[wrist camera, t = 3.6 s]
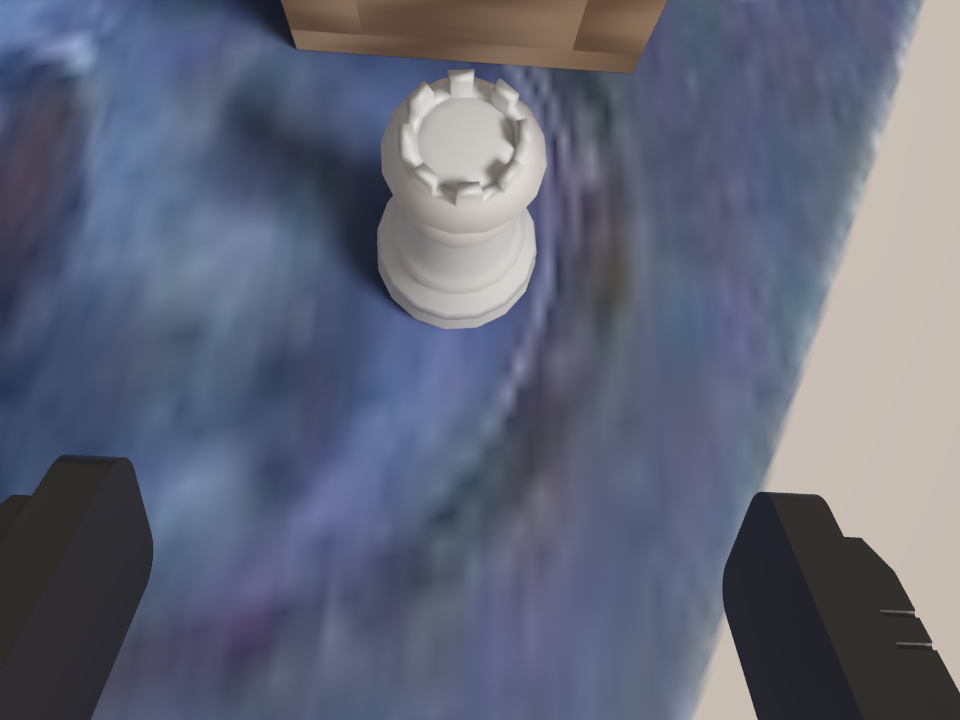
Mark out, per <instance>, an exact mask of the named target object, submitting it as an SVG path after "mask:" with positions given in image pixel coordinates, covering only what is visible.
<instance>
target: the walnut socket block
mask: <svg viewBox="0 0 960 720" xmlns="http://www.w3.org/2000/svg"><path fill="white" fill-rule="evenodd" d="M281 2H282V5H283V8H284V11H285V14H286V17H287V20H288V24H289V27H290V30H291V33H292V36H293V39H294V42H295V45H296V48H297V49H299V50H313V51H327V52H341V53H355V54H369V55H383V56H396V57H410V58H424V59H438V60H452V61H466V62H480V63H494V64H508V65H521V66H535V67H549V68H563V69H577V70H591V71H605V72H619V73H633V71H634V69H635V67H636V65H637V63H638V61H639V58H640V56H641V54H642V52H643V50H644V48H645V46H646V44H647V42H648V40H649V37H650V35H651V33H652V31H653V29H654V27H655V25H656V23H657V21H658V19H659V17H660V14H661V12H662V10H663V8H664V6H665V4H666V2H667V0H281Z"/></svg>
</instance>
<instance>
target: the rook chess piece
mask: <svg viewBox="0 0 960 720" xmlns="http://www.w3.org/2000/svg"><path fill="white" fill-rule="evenodd" d="M381 160H382V174H383V176H384V178H385V180H386V182H387V184H388V186H389V188H390V190H391V192H392V194H393V197H392V198H391V199H390V200H389V201H388V203H387V205H386V208H385V210H384V213H383V216H382V218H381V221H380V224H379V226H378V229H377V253H378V271H379V273H380V275H381V277H382V279H383V281H384V283H385V285H386V287H387V289H388V291H389V293H390V295H391V298H392V299H393V300H394V301H396V302H397V303H398V304H399V305H400V306H401V307H402V308H404V309H405V310H406V311H407V312H408V313H409V314H410V315H412V316H413V317H414V318H415V319H417V320H420V321H423V322H426V323H429V324H432V325H435V326H438V327H441V328H443V329H458V328H476V327H479V326H481V325H483V324H485V323H487V322H489V321H492V320H494V319H496V318H498V317H500V316H502V315H504V314H506V313H507V311H508V310H509V309H510V308H511V307H512V306H513V305H514V304H515V302H516V301H517V300H518V299H519V298H520V297H521V296H522V295H523V293H524V292H525V291H526V288H527V285H528V282H529V279H530V276H531V273H532V270H533V268H534V265H535V256H536V254H537V252H536V240H535V228H534V222H533V220H532V218H531V216H530V214H529V212H528V210H527V208H526V207H527V206H528V204H529V203H530V202H531V201H532V200H533V199H534V198H535V197H536V196H537V193H538V190H539V187H540V184H541V181H542V178H543V175H544V172H545V170H546V167H547V165H546V153H545V141H544V135H543V133H542V131H541V129H540V127H539V125H538V123H537V121H536V119H535V118H534V116H533V114H532V112H531V110H530V108H529V107H528V106H526V105H525V104H524V103H523V102H522V101H521V100H519V94H518V93H517V92H516V91H515V90H514V89H512V88H511V87H510V86H509V85H508V84H506V83H505V82H504V81H503V80H502V79H500V78H499V79H498V81H497V83H496V84H493V83H490V82H487V81H484V80H482V79H479V78H476V77H474V69H465V70H448V78H442V79H440V80H438V81H435V82H433V83H431V84H428V85H427V83H426V82H425V81H423V82H422V83H421V84H420V85H419V86H418V87H417V88H416V89H415V90H414V91H413V92H412V93H411V94H410V95H409V96H408V97H407V98H406V99H405V100H404V101H403V102H402V103H401V104H400V105H399V106H398V107H397V108H396V109H395V110H394V111H393V112H392V114H391V116H390V119H389V121H388V124H387V127H386V129H385V132H384V135H383V137H382V140H381Z"/></svg>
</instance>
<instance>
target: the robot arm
mask: <svg viewBox="0 0 960 720" xmlns="http://www.w3.org/2000/svg"><path fill="white" fill-rule="evenodd" d="M152 560H153V539H152V534H151V530H150V527H149V523H148V519H147V515H146V512H145V508H144V504H143V500H142V497H141V493H140V489H139V485H138V482H137V478H136V474H135V470H134V467H133V465H132V463H131V461H130V460H129V459H127V458H123V457H103V456H83V455H62V456H60V457H59V458H57V459H56V460H55V461H54V463H53V464H52V465H51V467H50V468H49V470H48V471H47V473H46V475H45V476H44V478H43V479H42V481H41V482H40V484H39V486H38V487H37V489H36V490H35V492H34V493H33V495H32V496H27V495H11V496H10V497H9V498H8V499H6V500H5V501H4V502H2V503H1V504H0V720H90V719H91V717H92V715H93V712H94V710H95V707H96V705H97V703H98V700H99V698H100V696H101V693H102V691H103V688H104V686H105V684H106V681H107V679H108V677H109V674H110V672H111V669H112V667H113V665H114V662H115V660H116V657H117V655H118V653H119V650H120V648H121V646H122V643H123V641H124V638H125V636H126V634H127V631H128V629H129V627H130V624H131V622H132V619H133V617H134V615H135V612H136V610H137V607H138V605H139V603H140V600H141V598H142V596H143V593H144V591H145V588H146V586H147V583H148V580H149V576H150V572H151V567H152ZM723 602H724V608H725V613H726V616H727V620H728V623H729V626H730V629H731V633H732V636H733V639H734V643H735V646H736V649H737V653H738V656H739V659H740V663H741V666H742V669H743V672H744V676H745V679H746V682H747V686H748V689H749V692H750V696H751V699H752V702H753V706H754V709H755V712H756V715H757V718H758V720H960V693H959V691H958V689H957V687H956V685H955V683H954V681H953V680H952V678H951V676H950V674H949V672H948V670H947V668H946V666H945V665H944V663H943V661H942V659H941V657H940V655H939V654H938V652H937V650H933V649H932V641H931V639H930V637H929V635H928V633H927V631H926V629H925V628H924V626H923V624H922V622H921V620H920V618H916V617H915V613H914V612H915V609H914V607H913V605H912V603H911V601H910V600H909V598H908V596H907V594H906V592H905V590H904V588H903V587H902V585H901V583H900V581H899V579H898V577H897V575H896V574H895V572H894V571H893V570H892V569H891V568H890V567H889V566H888V565H887V564H886V563H885V562H884V561H883V560H882V559H881V558H880V557H879V556H878V555H877V554H876V552H874V551H873V550H872V548H870V547H869V545H867V543H865V542H864V540H863V539H862V538H854V537H852V538H851V537H844V536H843V534H842V532H841V530H840V528H839V526H838V524H837V522H836V520H835V518H834V516H833V514H832V512H831V510H830V508H829V506H828V504H827V503H826V501H825V500H824V499H823V498H822V497H820V496H819V495H814V494H793V493H774V492H759V493H757V494H756V495H755V496H754V497H753V499H752V501H751V503H750V505H749V508H748V510H747V513H746V515H745V518H744V520H743V523H742V525H741V528H740V530H739V533H738V535H737V538H736V540H735V543H734V545H733V548H732V550H731V553H730V555H729V558H728V560H727V563H726V566H725V569H724V574H723Z"/></svg>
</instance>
